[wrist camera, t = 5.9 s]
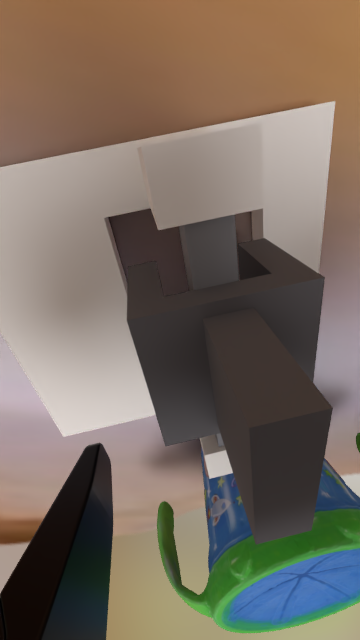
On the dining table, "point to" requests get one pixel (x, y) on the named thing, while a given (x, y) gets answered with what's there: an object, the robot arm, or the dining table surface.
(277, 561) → the snack cup
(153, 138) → the white square base
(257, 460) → the bracket
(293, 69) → the dining table surface
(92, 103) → the dining table surface
